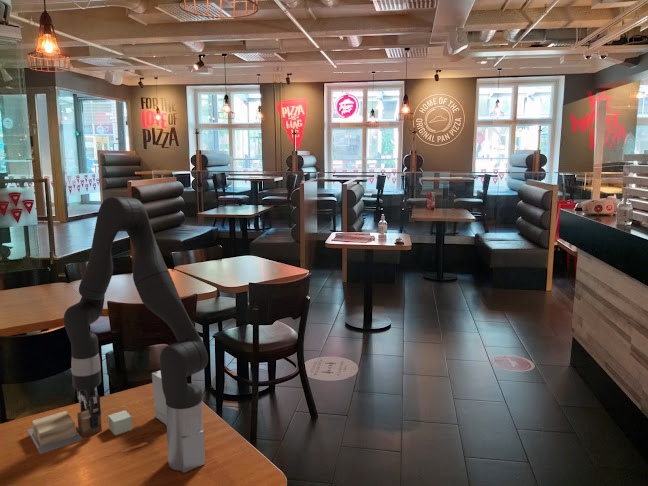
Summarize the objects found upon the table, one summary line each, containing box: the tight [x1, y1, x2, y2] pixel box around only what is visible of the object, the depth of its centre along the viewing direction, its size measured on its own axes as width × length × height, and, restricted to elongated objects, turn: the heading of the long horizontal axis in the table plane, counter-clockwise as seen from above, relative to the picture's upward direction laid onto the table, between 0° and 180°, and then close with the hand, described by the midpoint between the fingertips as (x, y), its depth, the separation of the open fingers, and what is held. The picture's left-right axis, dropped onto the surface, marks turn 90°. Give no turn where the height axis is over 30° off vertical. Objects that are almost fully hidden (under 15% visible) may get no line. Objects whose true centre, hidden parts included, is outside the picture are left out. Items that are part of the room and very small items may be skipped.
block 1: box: [76, 409, 103, 438], centre depth 149 cm, size 5×5×6 cm
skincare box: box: [151, 370, 167, 426], centre depth 157 cm, size 8×6×15 cm
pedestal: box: [31, 410, 77, 447], centre depth 146 cm, size 9×9×4 cm
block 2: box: [107, 409, 133, 436], centre depth 150 cm, size 5×5×5 cm
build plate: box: [26, 427, 84, 455], centre depth 147 cm, size 16×11×1 cm
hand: (89, 421), depth 149 cm, fingers open, 8 cm apart
